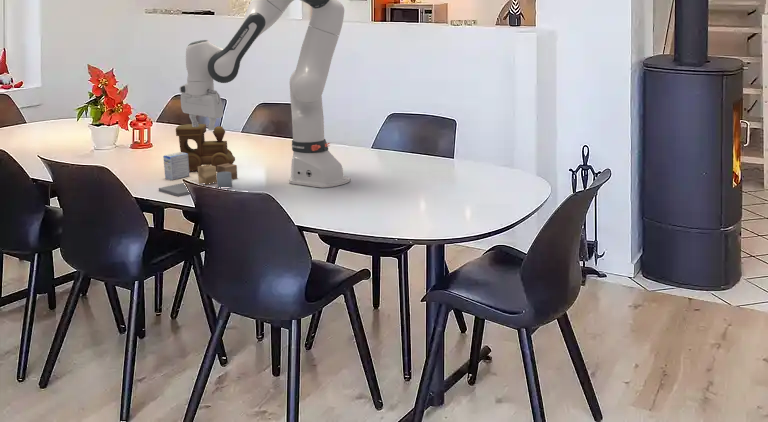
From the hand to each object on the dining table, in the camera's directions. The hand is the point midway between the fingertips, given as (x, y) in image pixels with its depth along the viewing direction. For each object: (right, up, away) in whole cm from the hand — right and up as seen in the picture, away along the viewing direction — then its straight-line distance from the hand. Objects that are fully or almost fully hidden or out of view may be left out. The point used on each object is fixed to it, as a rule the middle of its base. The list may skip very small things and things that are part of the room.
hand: (203, 128), depth 303 cm
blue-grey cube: (+8, -20, -2) cm, 22 cm away
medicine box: (-12, -17, +15) cm, 25 cm away
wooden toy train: (-4, -13, +28) cm, 31 cm away
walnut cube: (+6, -17, +11) cm, 21 cm away
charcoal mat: (-6, -22, -6) cm, 23 cm away
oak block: (0, -19, +5) cm, 20 cm away
